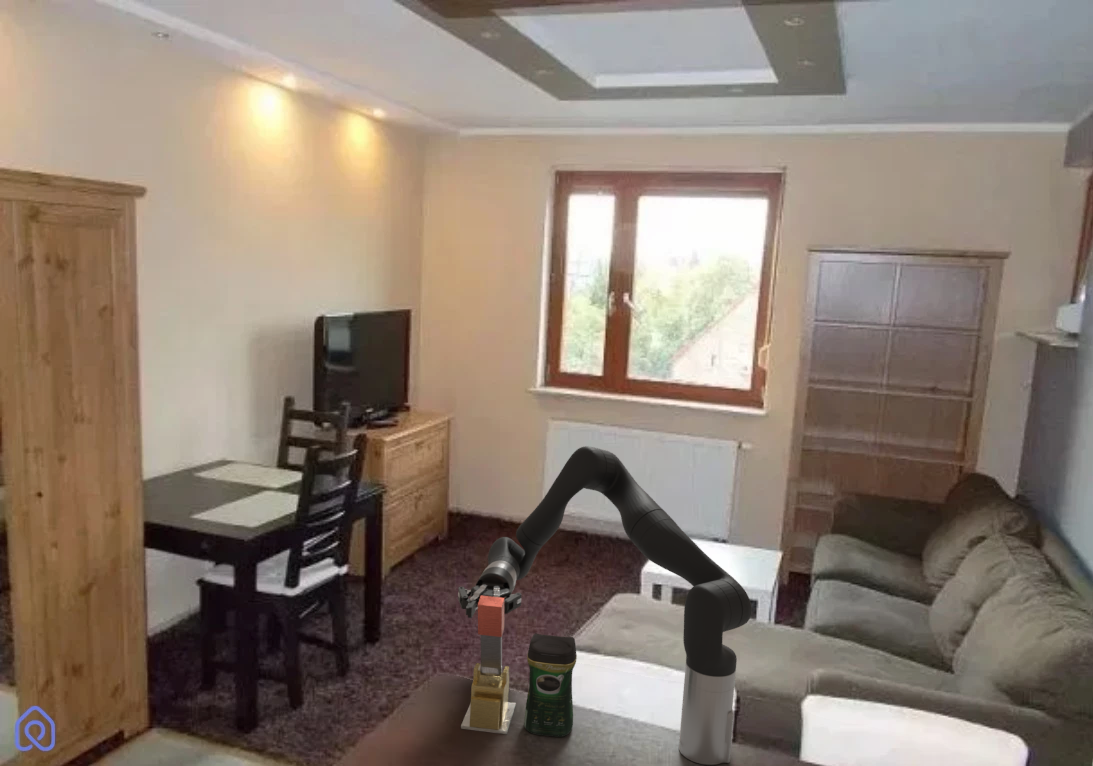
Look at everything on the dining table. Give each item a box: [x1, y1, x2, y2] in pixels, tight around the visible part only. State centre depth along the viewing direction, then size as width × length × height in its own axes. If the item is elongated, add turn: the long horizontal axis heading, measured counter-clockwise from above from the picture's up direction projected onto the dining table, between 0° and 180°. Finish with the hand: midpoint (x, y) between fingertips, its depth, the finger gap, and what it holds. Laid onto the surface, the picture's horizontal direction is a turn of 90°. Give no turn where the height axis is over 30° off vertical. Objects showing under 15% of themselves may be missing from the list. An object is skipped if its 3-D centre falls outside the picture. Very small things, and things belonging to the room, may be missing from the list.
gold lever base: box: [460, 662, 517, 735], centre depth 163 cm, size 9×11×10 cm
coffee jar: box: [523, 633, 578, 738], centre depth 159 cm, size 10×8×19 cm
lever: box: [477, 596, 505, 677], centre depth 159 cm, size 5×3×18 cm, turn 83°
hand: (479, 614), depth 159 cm, fingers open, 3 cm apart
